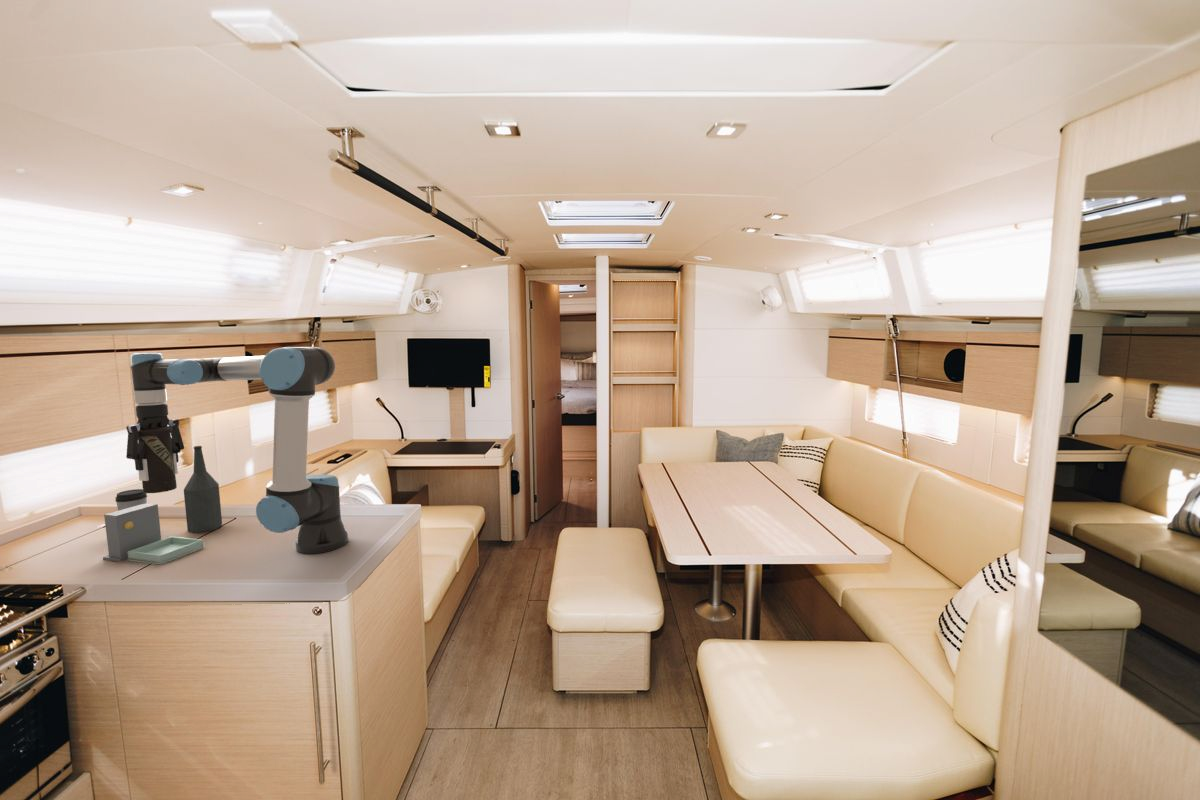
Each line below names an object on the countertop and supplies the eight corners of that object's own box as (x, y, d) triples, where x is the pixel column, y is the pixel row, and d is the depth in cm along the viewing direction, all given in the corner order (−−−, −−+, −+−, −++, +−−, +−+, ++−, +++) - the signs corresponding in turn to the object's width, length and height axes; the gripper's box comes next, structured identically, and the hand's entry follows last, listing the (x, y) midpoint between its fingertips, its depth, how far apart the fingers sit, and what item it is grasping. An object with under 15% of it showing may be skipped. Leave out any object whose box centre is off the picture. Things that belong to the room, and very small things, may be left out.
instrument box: (167, 544, 177) (163, 503, 175) (119, 561, 163) (114, 517, 162) (151, 542, 178) (147, 501, 177) (103, 559, 165) (98, 515, 163)
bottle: (181, 531, 189) (172, 447, 186) (209, 522, 198) (202, 442, 195) (200, 535, 185) (192, 449, 182) (229, 525, 194) (221, 444, 191)
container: (158, 494, 161) (151, 429, 159) (133, 493, 163) (126, 428, 161) (185, 487, 170) (179, 424, 168) (162, 485, 172) (155, 423, 169)
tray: (203, 548, 173) (202, 539, 173) (161, 564, 161) (160, 555, 160) (172, 544, 177) (171, 536, 176) (128, 560, 164) (127, 551, 164)
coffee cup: (154, 532, 188) (150, 490, 187) (124, 540, 181) (119, 496, 180) (145, 528, 193) (141, 487, 191) (115, 535, 186) (110, 493, 184)
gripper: (176, 399, 174) (183, 468, 177) (103, 407, 154) (112, 484, 157) (194, 400, 172) (201, 469, 175) (122, 408, 153) (131, 486, 155)
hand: (159, 476), depth 166 cm, fingers closed on container, 8 cm apart
